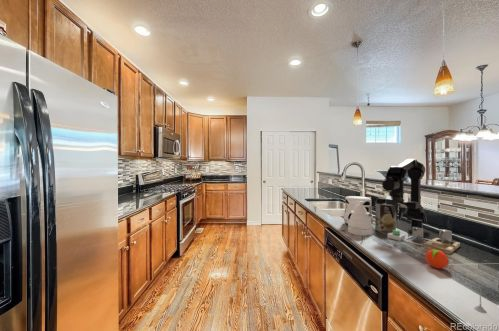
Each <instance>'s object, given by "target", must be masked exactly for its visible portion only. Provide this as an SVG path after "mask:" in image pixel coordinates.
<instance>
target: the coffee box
mask: <svg viewBox="0 0 499 331" xmlns="http://www.w3.org/2000/svg"><path fill="white" fill-rule="evenodd" d="M374 221H375V223H374V224H375V225H374V229H375V230H376V231H378V232H388V233H391V232H393V230H397V205H395V217H394V219H393V218H392V215H391V213H390V210H389V209H388V207H387V206H385V203H383V204H377V203H376V202H375V220H374Z"/></svg>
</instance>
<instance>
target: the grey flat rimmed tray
mask: <svg viewBox="0 0 499 331" xmlns="http://www.w3.org/2000/svg"><path fill="white" fill-rule="evenodd" d="M409 239H412V235H410V236H408V237H405V239H403V240H401V241H403V242H406V243H410V244H414V245H418V246H422V247H424V244H425V243H427V242H429V241H431V240H432V239H428V238H424V237H423V241H424V240H425V241H426V242H424V243H422V244H421V243H419V242H415V241H409Z"/></svg>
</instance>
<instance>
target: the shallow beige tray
mask: <svg viewBox="0 0 499 331" xmlns="http://www.w3.org/2000/svg"><path fill="white" fill-rule="evenodd" d="M430 240H431V241H429V240H428V241H429V242H428V241H426V242H427V243H426V242H424V243H425V244H424V243H423V244H424V246H423V248H424V249H428V250H432V249H437V250H440V251H442V252H443V253H445V254H446V255H447V254H448V255H450V254H452V253H453V252H455V251H456V250H457V249H458V248H460V247H461V242H458V241H454V240H453V241H452V245H450V244H446V243H441V242H439V237H435V238H433V239H430Z"/></svg>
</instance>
